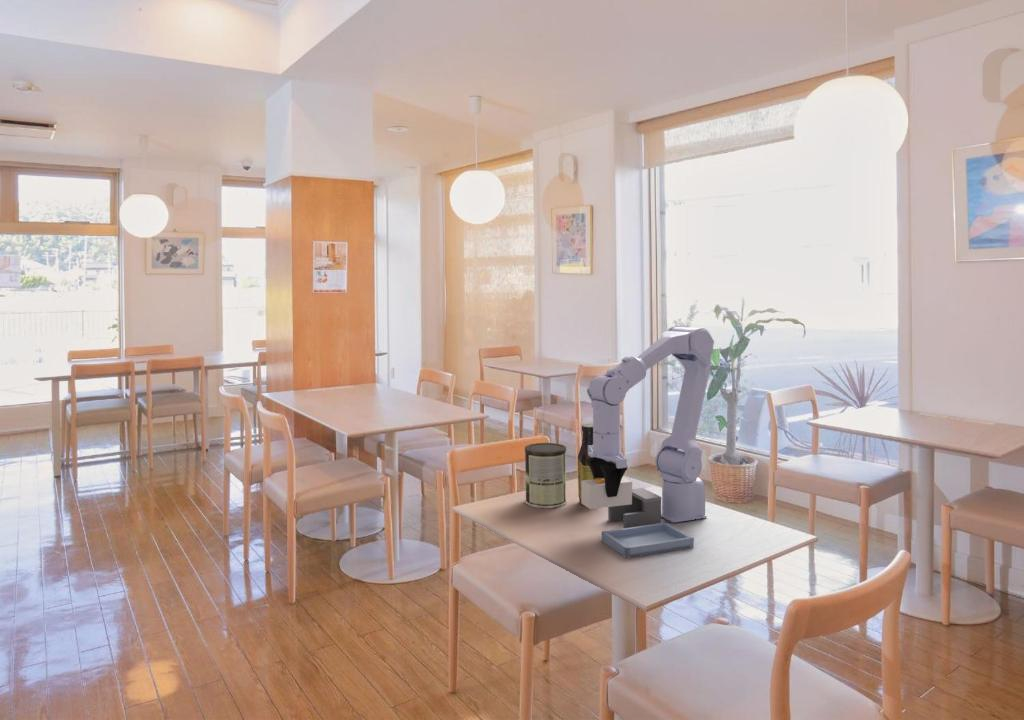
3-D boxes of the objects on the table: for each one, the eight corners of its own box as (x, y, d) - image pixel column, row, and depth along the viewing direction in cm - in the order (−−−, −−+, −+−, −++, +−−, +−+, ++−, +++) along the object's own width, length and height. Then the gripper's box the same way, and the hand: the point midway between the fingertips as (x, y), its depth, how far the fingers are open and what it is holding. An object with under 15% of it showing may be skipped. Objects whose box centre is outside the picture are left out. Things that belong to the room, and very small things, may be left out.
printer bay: (642, 515, 169) (642, 487, 168) (661, 525, 162) (661, 497, 161) (608, 519, 166) (608, 492, 165) (625, 530, 159) (625, 501, 158)
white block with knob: (622, 498, 160) (622, 474, 160) (631, 504, 156) (632, 478, 156) (581, 503, 157) (581, 478, 156) (590, 509, 153) (590, 483, 152)
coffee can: (517, 501, 182) (516, 446, 180) (550, 494, 187) (550, 440, 186) (540, 511, 173) (540, 453, 172) (574, 504, 178) (574, 448, 177)
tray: (665, 531, 158) (665, 522, 158) (693, 547, 148) (693, 537, 148) (601, 540, 152) (601, 531, 152) (626, 558, 143) (626, 548, 142)
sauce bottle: (586, 498, 183) (586, 421, 181) (608, 502, 180) (608, 423, 178) (573, 504, 178) (572, 425, 176) (595, 508, 174) (595, 427, 172)
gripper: (575, 427, 160) (575, 486, 162) (605, 439, 147) (605, 504, 148) (603, 424, 163) (603, 483, 164) (635, 436, 149) (635, 500, 151)
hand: (606, 493), depth 156 cm, fingers closed on white block with knob, 4 cm apart
